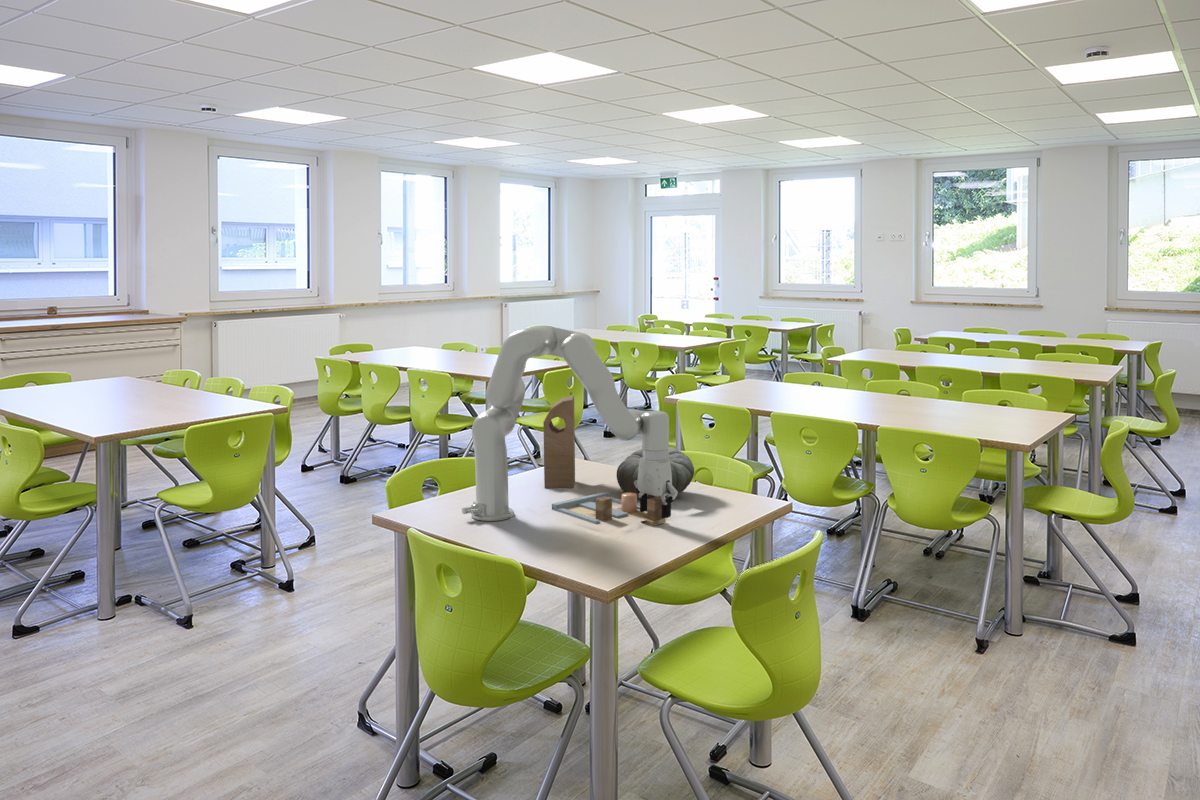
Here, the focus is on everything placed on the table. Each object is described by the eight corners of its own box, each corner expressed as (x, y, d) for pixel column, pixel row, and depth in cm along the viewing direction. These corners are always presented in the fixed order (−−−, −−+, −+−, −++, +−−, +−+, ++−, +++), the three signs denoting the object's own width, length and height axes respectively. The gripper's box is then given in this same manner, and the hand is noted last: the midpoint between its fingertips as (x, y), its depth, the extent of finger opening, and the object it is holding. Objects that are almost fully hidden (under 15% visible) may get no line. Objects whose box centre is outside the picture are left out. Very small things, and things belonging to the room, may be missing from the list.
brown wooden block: (600, 525, 242) (600, 501, 241) (584, 520, 247) (584, 496, 246) (614, 522, 245) (614, 497, 244) (598, 516, 250) (598, 493, 249)
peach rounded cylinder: (628, 514, 249) (628, 497, 248) (618, 510, 252) (618, 494, 252) (640, 511, 252) (640, 494, 251) (629, 508, 255) (629, 491, 255)
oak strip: (652, 525, 241) (652, 501, 240) (612, 513, 254) (612, 490, 253) (665, 522, 245) (665, 498, 244) (625, 510, 257) (625, 487, 256)
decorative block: (573, 488, 284) (572, 399, 280) (544, 488, 285) (542, 399, 280) (575, 481, 294) (574, 395, 290) (546, 481, 294) (545, 395, 290)
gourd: (696, 479, 285) (691, 431, 279) (697, 511, 261) (691, 459, 256) (622, 485, 288) (616, 437, 283) (616, 517, 264) (609, 466, 259)
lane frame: (595, 528, 240) (594, 518, 239) (551, 513, 255) (551, 503, 254) (648, 514, 253) (648, 504, 253) (604, 501, 268) (604, 491, 268)
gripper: (625, 451, 245) (625, 510, 248) (668, 461, 232) (667, 523, 235) (643, 448, 250) (643, 505, 253) (687, 457, 237) (686, 518, 240)
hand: (655, 513), depth 244 cm, fingers open, 8 cm apart
